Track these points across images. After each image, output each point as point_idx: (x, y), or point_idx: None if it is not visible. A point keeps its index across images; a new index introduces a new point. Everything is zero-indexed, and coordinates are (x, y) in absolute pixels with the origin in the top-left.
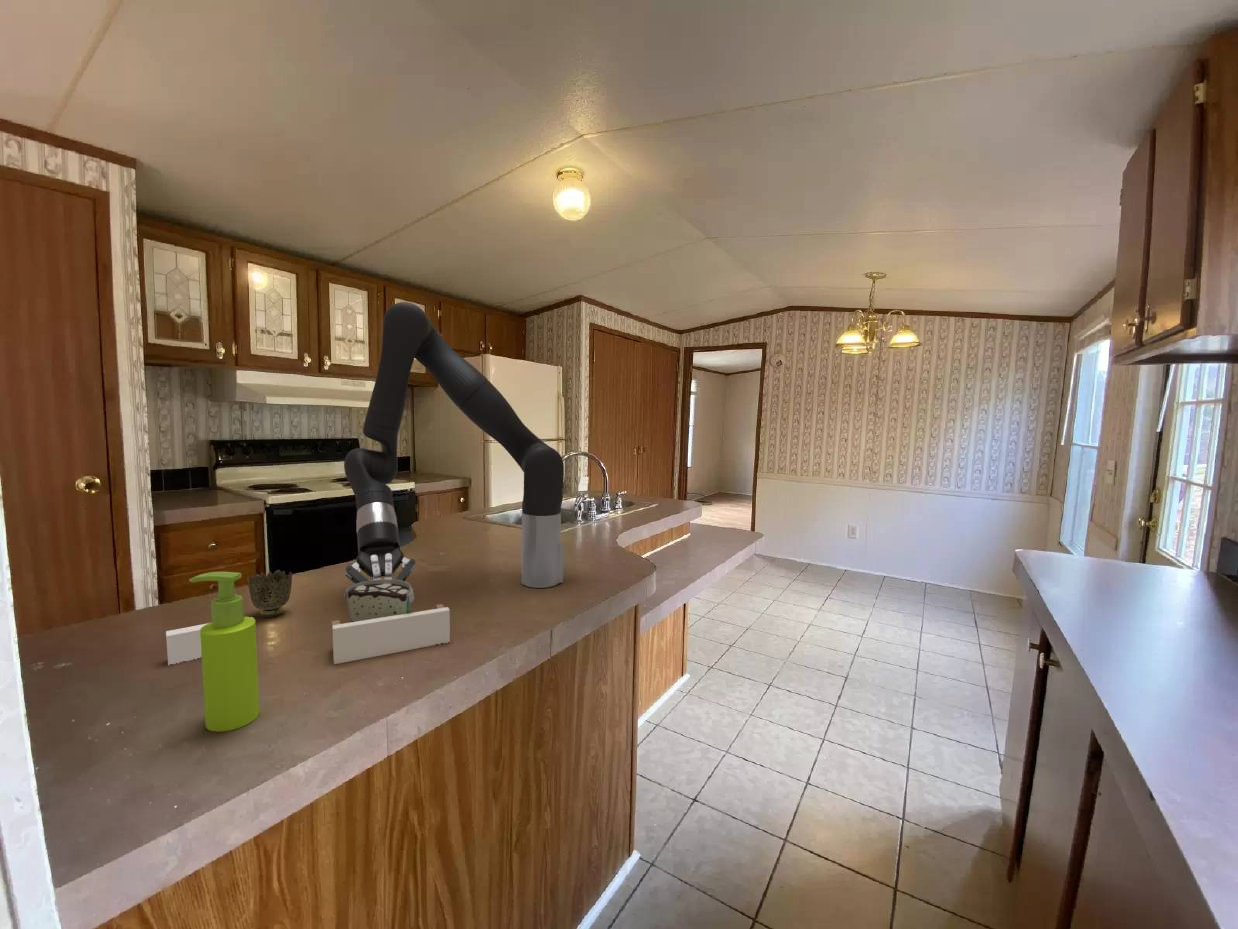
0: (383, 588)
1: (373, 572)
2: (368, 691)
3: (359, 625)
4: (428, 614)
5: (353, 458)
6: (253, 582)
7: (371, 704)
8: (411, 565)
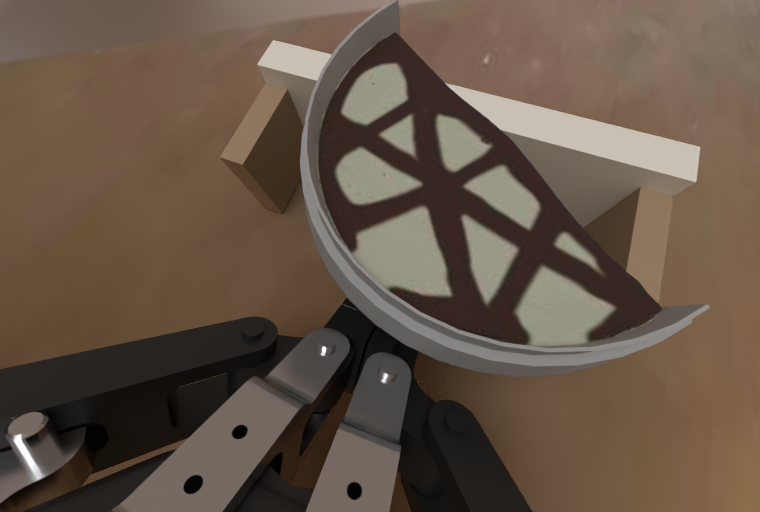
0: (432, 206)
1: (389, 485)
2: (567, 55)
3: (591, 123)
4: None
5: None
6: None
7: (578, 15)
8: (26, 375)
